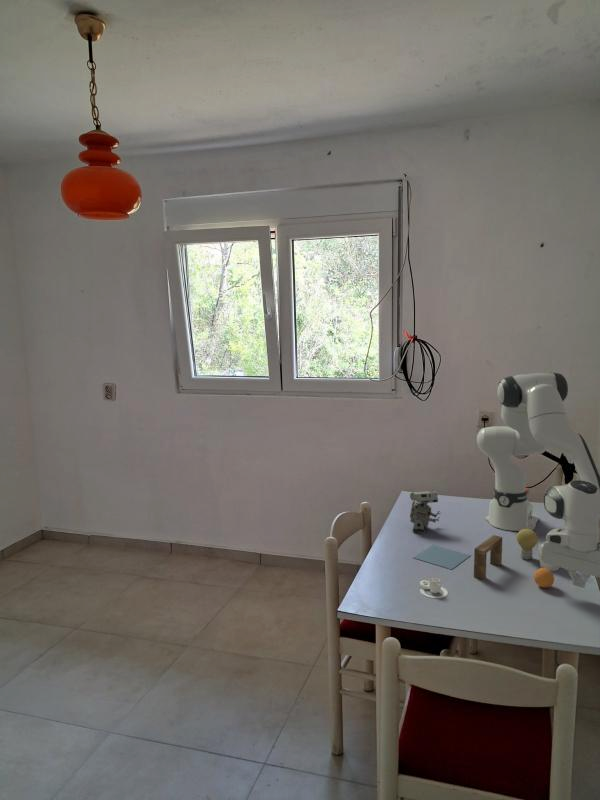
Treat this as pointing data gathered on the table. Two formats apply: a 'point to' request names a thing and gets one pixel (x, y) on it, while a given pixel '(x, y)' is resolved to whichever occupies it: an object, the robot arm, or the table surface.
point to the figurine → (422, 509)
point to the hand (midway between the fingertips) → (578, 585)
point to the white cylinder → (542, 564)
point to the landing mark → (442, 557)
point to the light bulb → (526, 542)
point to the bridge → (481, 551)
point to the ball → (544, 577)
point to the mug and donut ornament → (432, 587)
